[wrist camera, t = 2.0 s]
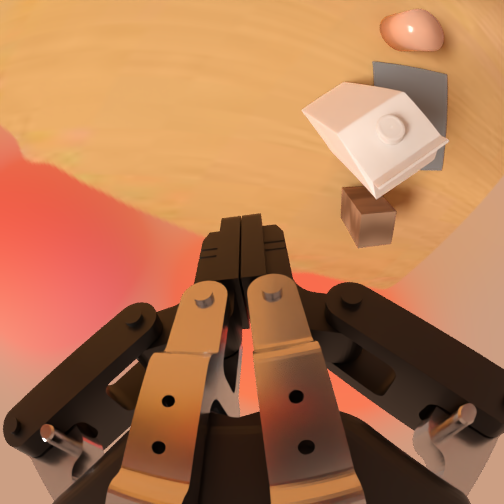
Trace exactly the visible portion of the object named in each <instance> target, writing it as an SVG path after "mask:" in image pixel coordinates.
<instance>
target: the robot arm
mask: <svg viewBox="0 0 504 504" xmlns="http://www.w3.org/2000/svg"><path fill="white" fill-rule="evenodd" d="M249 319H250V323H251V330H252V338H253V346H254V351H253V360H254V368H255V377H256V385H257V393H258V401H259V408H260V412H256V413H253V414H250V415H246V416H242V417H240V408H239V400H238V394H239V383H240V372H241V360H242V350H243V347H242V329H249V328H250V324H249ZM135 359H137V360H138V361H139V362H138V363H137V364H136V365H135V366H133V367H132V368H131V369H130V370H129V371H128V372H127V373H126V374H125V375H124V376H122V377H121V378H120V379H119V380H118V381H117V382H116V383H115V384H113V385H108V384H109V383H110V382H111V381H112V380H113V379H114V378H115V377H117V376H118V375H119V374H120V373H121V372H122V371H123V370H124V369H125V368H126V367H128V366H129V365H130V364H131V363H132V362H133V361H134V360H135ZM327 369H329V370H330V371H332V372H333V373H334V374H335V375H337V376H338V377H339V378H341V379H342V380H343V381H345V382H346V383H348V384H349V385H350V386H352V387H353V388H354V389H356V390H357V391H358V392H360V393H361V394H362V395H364V396H365V397H367V398H368V399H369V400H371V401H372V402H374V403H375V404H376V405H378V406H379V407H381V408H382V409H384V410H385V411H386V412H388V413H389V414H391V415H392V416H394V417H395V418H396V419H398V420H400V421H401V422H402V423H404V424H405V425H407V426H408V427H410V428H411V429H413V430H414V435H413V446H414V449H415V451H416V452H417V454H418V455H420V456H421V457H422V458H423V460H424V461H425V463H426V467H427V468H426V467H424V466H423V465H421V464H420V463H419V462H417V461H416V460H415V459H413V458H411V457H410V456H409V455H408V454H406V453H405V452H403V451H402V450H401V449H399V448H398V447H397V446H395V445H394V444H393V443H391V442H390V441H389V440H387V439H386V438H385V437H383V436H382V435H381V434H380V433H378V432H377V431H375V430H374V429H373V428H372V427H371V426H369V425H368V424H367V423H365V422H364V421H362V420H360V419H359V418H357V417H354V416H352V415H350V414H347V413H344V412H341V411H339V409H338V406H337V402H336V399H335V395H334V391H333V388H332V384H331V381H330V377H329V374H328V371H327ZM130 426H131V427H130ZM129 427H130V430H129V431H128V432H127V433H126V434H125V435H123V437H122V438H120V439H119V440H118V441H117V442H116V443H115V444H114V445H113V446H112V447H111V448H110V449H109V450H108V451H107V452H106V453H105V454H104V452H103V450H104V449H105V448H107V447H108V446H109V445H110V444H111V443H112V442H113V441H114V440H115V439H117V438H118V437H119V436H120V435H121V434H122V433H123V432H124V431H125V430H126V429H128V428H129ZM3 432H4V437H5V440H6V441H7V443H8V444H9V445H10V446H12V447H14V448H15V449H17V450H19V451H21V452H23V453H25V454H27V455H28V456H29V457H30V458H31V459H32V461H33V463H34V465H35V467H36V469H37V471H38V473H39V475H40V477H41V479H42V481H43V483H44V484H45V486H46V488H47V490H48V491H49V493H50V495H51V496H52V498H53V500H54V503H53V504H471V503H470V501H469V499H468V498H467V495H468V494H469V492H470V490H471V489H472V487H473V485H474V484H475V482H476V480H477V479H478V477H479V475H480V474H481V472H482V470H483V468H484V466H485V464H486V462H487V461H488V458H489V457H490V454H491V453H492V450H493V448H494V446H495V444H496V442H497V439H498V437H499V436H500V435H501V434H502V433H504V369H502V368H501V367H499V366H498V365H496V364H495V363H493V362H491V361H490V360H488V359H487V358H485V357H483V356H482V355H480V354H479V353H477V352H475V351H474V350H472V349H470V348H469V347H467V346H466V345H464V344H462V343H461V342H459V341H458V340H456V339H454V338H453V337H450V336H449V335H447V334H446V333H444V332H443V331H441V330H439V329H438V328H436V327H434V326H433V325H431V324H429V323H428V322H426V321H424V320H423V319H421V318H419V317H417V316H416V315H414V314H412V313H410V312H409V311H407V310H405V309H404V308H402V307H400V306H398V305H397V304H395V303H393V302H392V301H390V300H388V299H386V298H385V297H383V296H381V295H379V294H378V293H376V292H374V291H372V290H371V289H369V288H367V287H365V286H363V285H361V284H358V283H353V282H345V283H341V284H338V285H336V286H334V287H332V288H331V289H330V290H329V292H328V293H327V294H324V293H316V292H310V291H307V290H305V289H303V288H301V287H300V286H298V285H297V284H296V283H295V281H294V280H293V277H292V273H291V268H290V263H289V258H288V253H287V249H286V243H285V238H284V234H283V231H282V230H281V229H280V228H279V227H278V226H277V225H267V226H262V219H261V213H260V214H252V215H244V216H242V219H241V216H237V217H229V218H222V220H221V227H220V231H219V232H212V233H209V235H208V236H207V237H206V238H205V239H204V241H203V244H202V249H201V253H200V259H199V262H198V267H197V272H196V278H195V282H194V285H192V286H191V287H189V288H188V289H187V290H186V291H185V292H184V294H183V295H182V298H181V301H180V304H178V305H176V306H173V307H170V308H167V309H164V310H161V311H158V312H156V310H155V309H154V307H153V306H152V305H150V304H148V303H135V304H132V305H130V306H128V307H126V308H125V309H124V310H123V311H121V312H120V313H119V314H118V315H116V316H115V317H114V318H113V319H112V320H110V321H109V322H108V323H107V324H106V325H104V326H103V327H102V328H101V329H100V330H99V331H97V332H96V333H95V334H94V335H93V336H92V337H90V338H89V339H88V340H87V341H86V342H85V343H84V344H82V345H81V346H80V347H79V348H78V349H77V350H75V351H74V352H73V353H72V354H71V355H70V356H69V357H67V358H66V359H65V360H64V361H63V362H62V363H61V364H60V365H59V366H58V367H56V368H55V369H54V370H53V371H52V372H51V373H50V374H49V375H47V376H46V377H45V378H44V379H43V380H42V381H41V382H40V383H39V384H38V385H37V386H36V387H35V388H33V389H32V390H31V391H30V392H29V393H28V394H27V395H26V396H25V397H24V398H23V399H22V400H21V401H20V402H19V403H17V405H15V406H14V407H13V408H12V409H11V410H10V411H9V412H8V414H7V415H6V418H5V420H4V425H3Z"/></svg>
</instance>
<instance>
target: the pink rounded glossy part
mask: <svg viewBox="0 0 504 504" xmlns="http://www.w3.org/2000/svg"><path fill="white" fill-rule="evenodd" d="M380 32H381V35H382V37H383V39H384V40H385V42H386V43H387V44H388V45H389V46H390V47H392V48H393V49H395V50H398V51H436V50H438V49H440V48H441V47H442V45H443V42H444V33H443V30H442V27H441V25H440V23H439V22H438V20H437V19H436V18H435V17H434V16H433V15H432V14H431V13H429V12H428V11H426V10H423V9H413V10H409V11H405V12H401V13H397V14H393V15H390V16H387V17H385V18H384V19H383V20H382V21H381V24H380Z"/></svg>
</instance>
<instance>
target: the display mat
mask: <svg viewBox="0 0 504 504" xmlns="http://www.w3.org/2000/svg"><path fill="white" fill-rule="evenodd" d="M373 73H374V86H376V87H382V88H388V89H393V90H397V91H402V92H405V93H406V94H407V95H408V97H409V98H410V99H411V100H412V101H413V102H414V103H415V104H416V105H417V107H418V108H419V109H420V110H421V111H422V112H423V114H424V115H425V116H426V117H427V118H428V120H429V121H430V122H431V123H432V125H433V126H434V127H435V129H436V130H437V131H438V132H439V134H440V135H441V136H443V137H445V138H446V125H447V75H446V74H442V73H438V72H434V71H429V70H425V69H420V68H415V67H409V66H403V65H397V64H390V63H382V62H373ZM444 149H445V145H444V146H442V147H441V148H440V149H438V150H437V153H436V156H435V159H434V160H433V161H432V162H430V163H429V164H427V165H426V166H425V167H423V168H422V169H420V170H442V166H443V158H444Z"/></svg>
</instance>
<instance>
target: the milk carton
mask: <svg viewBox="0 0 504 504" xmlns="http://www.w3.org/2000/svg"><path fill="white" fill-rule="evenodd" d="M301 111H302V112H303V113H304V115H305V116H306V117H307V119H308V120H309V121H310V122H311V124H312V125H313V127H314V128H315V129H316V131H317V132H318V133H319V135H320V136H321V137H322V139H323V140H324V142H325V143H326V145H327V146H328V147H329V149H330V150H331V152H332V153H333V154H334V155H335V156H336V157H337V158H338V159H339V160H340V161H341V162H342V163H343V164H344V165H345V166H346V167H347V168H348V169H349V170H350V171H351V172H352V173H353V174H354V175H355V176H356V177H357V178H358V179H359V181H360V182H361V183H362V184H363V185H364V186H365V187H366V188H367V189H368V190H369V192H370V193H371V194H372V195H373V196H374V197H375V198H376V199H378V198H379V197H381V196H382V195H384V194H385V193H387V192H388V191H390V190H391V189H393V188H394V187H396V186H397V185H399V184H400V183H401V182H403V181H404V180H406V179H407V178H409V177H410V176H412V175H413V174H415V173H416V172H417V171H419V170H420V169H422V168H423V167H425V166H426V165H427V164H429V163H430V162H432V161H433V160H434V159H435V156H436V153H437V150H438V149H440V148H441V147H442V146H444V145H445V144H447V143H448V142H449V139H447V138H445V137H443V136H441V135H440V134H439V132H438V131H437V130H436V129H435V127H434V126H433V125H432V123H431V122H430V121H429V120H428V118H427V117H426V116H425V115H424V114H423V112H422V111H421V110H420V109H419V108H418V107H417V105H416V104H415V103H414V102H413V101H412V100H411V99H410V98H409V97H408V95H407V94H406V93H405V92H402V91H397V90H393V89H388V88H382V87H376V86H370V85H364V84H357V83H349V82H343V83H341V84H339V85H338V86H336V87H335V88H333V89H331V90H330V91H328V92H327V93H325V94H324V95H322V96H321V97H319V98H318V99H316V100H315V101H313V102H312V103H310V104H309V105H307V106H306V107H304V108H303V109H302V110H301Z"/></svg>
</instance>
